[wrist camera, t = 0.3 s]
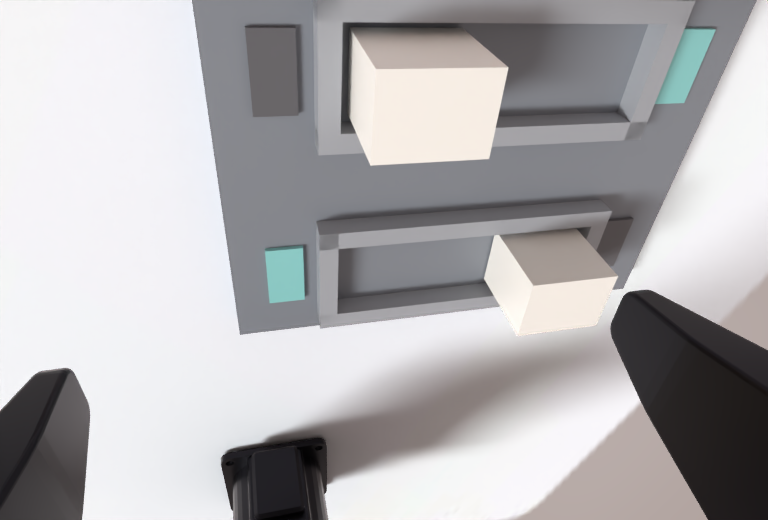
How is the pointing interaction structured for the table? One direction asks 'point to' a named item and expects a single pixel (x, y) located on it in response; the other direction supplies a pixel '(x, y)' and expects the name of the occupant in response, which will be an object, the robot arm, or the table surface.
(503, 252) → the tab
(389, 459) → the table surface
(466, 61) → the tab
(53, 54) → the table surface
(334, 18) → the switch board
